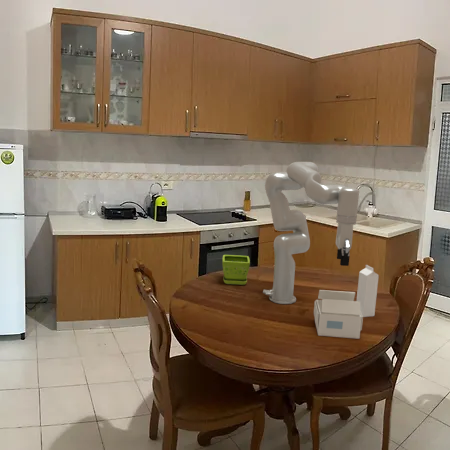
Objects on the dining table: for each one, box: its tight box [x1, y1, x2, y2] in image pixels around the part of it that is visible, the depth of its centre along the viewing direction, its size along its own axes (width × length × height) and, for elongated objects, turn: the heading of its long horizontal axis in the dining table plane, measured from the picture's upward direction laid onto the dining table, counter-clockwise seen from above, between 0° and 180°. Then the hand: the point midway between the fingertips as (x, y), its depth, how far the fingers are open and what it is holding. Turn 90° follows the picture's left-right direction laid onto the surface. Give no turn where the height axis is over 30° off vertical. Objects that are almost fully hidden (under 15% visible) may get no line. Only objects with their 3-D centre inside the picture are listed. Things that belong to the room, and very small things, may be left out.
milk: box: [356, 264, 380, 318], centre depth 215 cm, size 6×6×22 cm
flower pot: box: [221, 254, 251, 286], centre depth 253 cm, size 14×14×13 cm
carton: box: [313, 299, 364, 340], centre depth 199 cm, size 17×16×9 cm
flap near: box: [321, 299, 360, 315], centre depth 191 cm, size 15×5×1 cm
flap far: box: [317, 289, 356, 301], centre depth 204 cm, size 15×5×1 cm
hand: (342, 262), depth 195 cm, fingers open, 8 cm apart
